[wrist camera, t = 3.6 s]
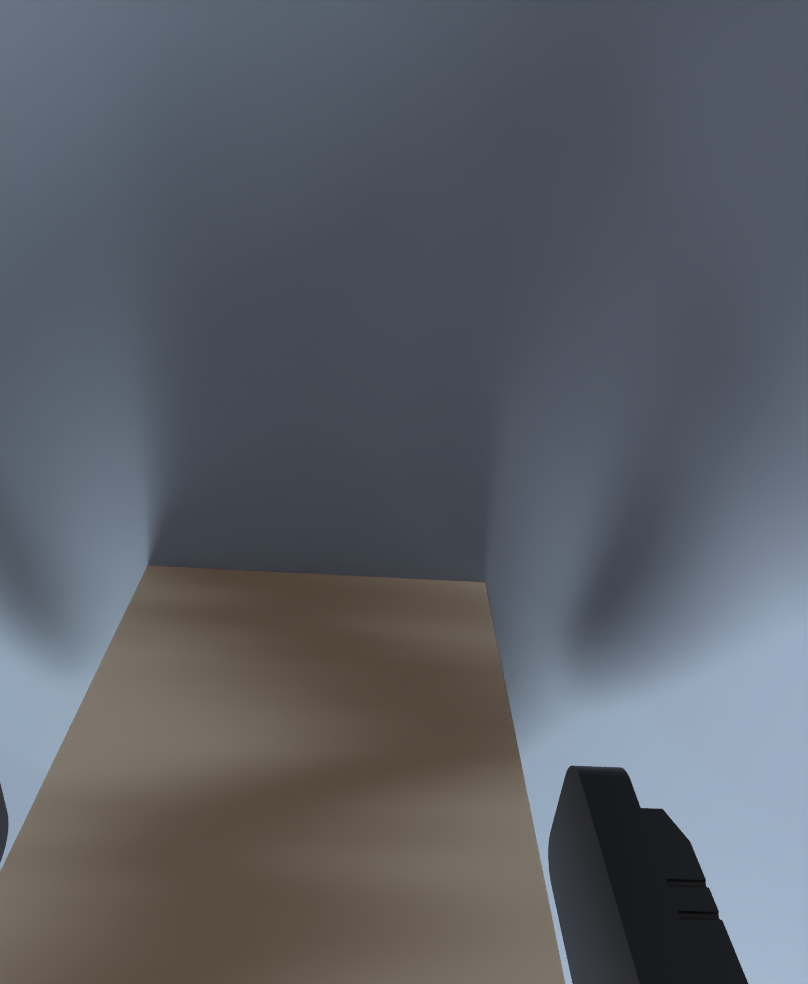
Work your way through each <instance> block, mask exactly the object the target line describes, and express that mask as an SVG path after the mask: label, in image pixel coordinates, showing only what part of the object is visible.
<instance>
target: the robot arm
mask: <svg viewBox="0 0 808 984" xmlns="http://www.w3.org/2000/svg"><path fill="white" fill-rule="evenodd" d="M7 835H8V814H7V809H6V805H5V801H4V797H3V793H2V788H1V784H0V862H1V859H2V856H3V853H4V849H5V845H6V841H7ZM548 861H549V873H550V880H551V885H552V890H553V894H554V899H555V904H556V908H557V913H558V918H559V922H560V927H561V932H562V936H563V941H564V946H565V950H566V955H567V959H568V964H569V969H570V973H571V978H572V983H573V984H748V982H747V980H746V977H745V975H744V972H743V970H742V967H741V965H740V962H739V960H738V958H737V955H736V953H735V950H734V948H733V945H732V943H731V940H730V938H729V936H728V933H727V931H726V928H725V926H724V923H723V921H722V920H720V919H719V916H718V913H719V911H718V909H717V906H716V904H715V901H714V899H713V896H712V894H711V892H710V889H709V888H707V887H706V883H705V881H706V879H705V877H704V874H703V872H702V870H701V867H700V865H699V862H698V860H697V857H696V855H695V852H694V850H693V848H692V845H691V843H690V841H689V840H688V839H687V838H686V836H685V835H684V834H683V833H682V832H681V830H680V829H679V828H678V827H677V826H676V824H675V823H674V822H673V821H672V820H671V818H670V817H669V816H668V815H667V814H666V813H665V811H664V810H663V809H650V808H640V805H639V802H638V800H637V797H636V794H635V791H634V789H633V786H632V783H631V780H630V778H629V776H628V774H627V772H626V771H625V770H624V769H623V768H620V767H592V766H570V767H569V768H568V770H567V772H566V775H565V779H564V783H563V786H562V790H561V794H560V798H559V802H558V805H557V809H556V813H555V817H554V821H553V824H552V828H551V832H550V837H549V847H548Z"/></svg>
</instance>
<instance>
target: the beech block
mask: <svg viewBox="0 0 808 984" xmlns="http://www.w3.org/2000/svg"><path fill="white" fill-rule="evenodd" d="M0 984H565V980H564V975H563V970H562V965H561V960H560V955H559V950H558V945H557V940H556V935H555V930H554V925H553V920H552V915H551V910H550V905H549V900H548V895H547V890H546V885H545V880H544V875H543V870H542V865H541V860H540V855H539V850H538V845H537V840H536V835H535V830H534V825H533V820H532V815H531V810H530V805H529V800H528V795H527V790H526V785H525V780H524V775H523V770H522V765H521V760H520V755H519V750H518V745H517V740H516V735H515V730H514V725H513V720H512V715H511V710H510V705H509V700H508V695H507V690H506V685H505V680H504V675H503V670H502V665H501V660H500V655H499V650H498V645H497V640H496V635H495V630H494V625H493V620H492V615H491V610H490V605H489V600H488V595H487V590H486V585H485V582H469V581H449V580H429V579H409V578H390V577H370V576H350V575H330V574H310V573H291V572H271V571H251V570H231V569H211V568H192V567H172V566H152V565H148V566H147V568H146V570H145V572H144V574H143V576H142V578H141V580H140V582H139V585H138V587H137V589H136V591H135V593H134V595H133V597H132V599H131V601H130V603H129V605H128V607H127V609H126V612H125V614H124V616H123V618H122V620H121V622H120V624H119V626H118V628H117V630H116V632H115V634H114V636H113V639H112V641H111V643H110V645H109V647H108V649H107V651H106V653H105V655H104V657H103V659H102V661H101V664H100V666H99V668H98V670H97V672H96V674H95V676H94V678H93V680H92V682H91V684H90V686H89V688H88V691H87V693H86V695H85V697H84V699H83V701H82V703H81V705H80V707H79V709H78V711H77V713H76V715H75V718H74V720H73V722H72V724H71V726H70V728H69V730H68V732H67V734H66V736H65V738H64V740H63V742H62V745H61V747H60V749H59V751H58V753H57V755H56V757H55V759H54V761H53V763H52V765H51V767H50V770H49V772H48V774H47V776H46V778H45V780H44V782H43V784H42V786H41V788H40V790H39V792H38V794H37V797H36V799H35V801H34V803H33V805H32V807H31V809H30V811H29V813H28V815H27V817H26V819H25V821H24V824H23V826H22V828H21V830H20V832H19V834H18V836H17V838H16V840H15V842H14V844H13V846H12V848H11V851H10V853H9V855H8V857H7V859H6V861H5V863H4V865H3V867H2V869H1V871H0Z"/></svg>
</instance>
